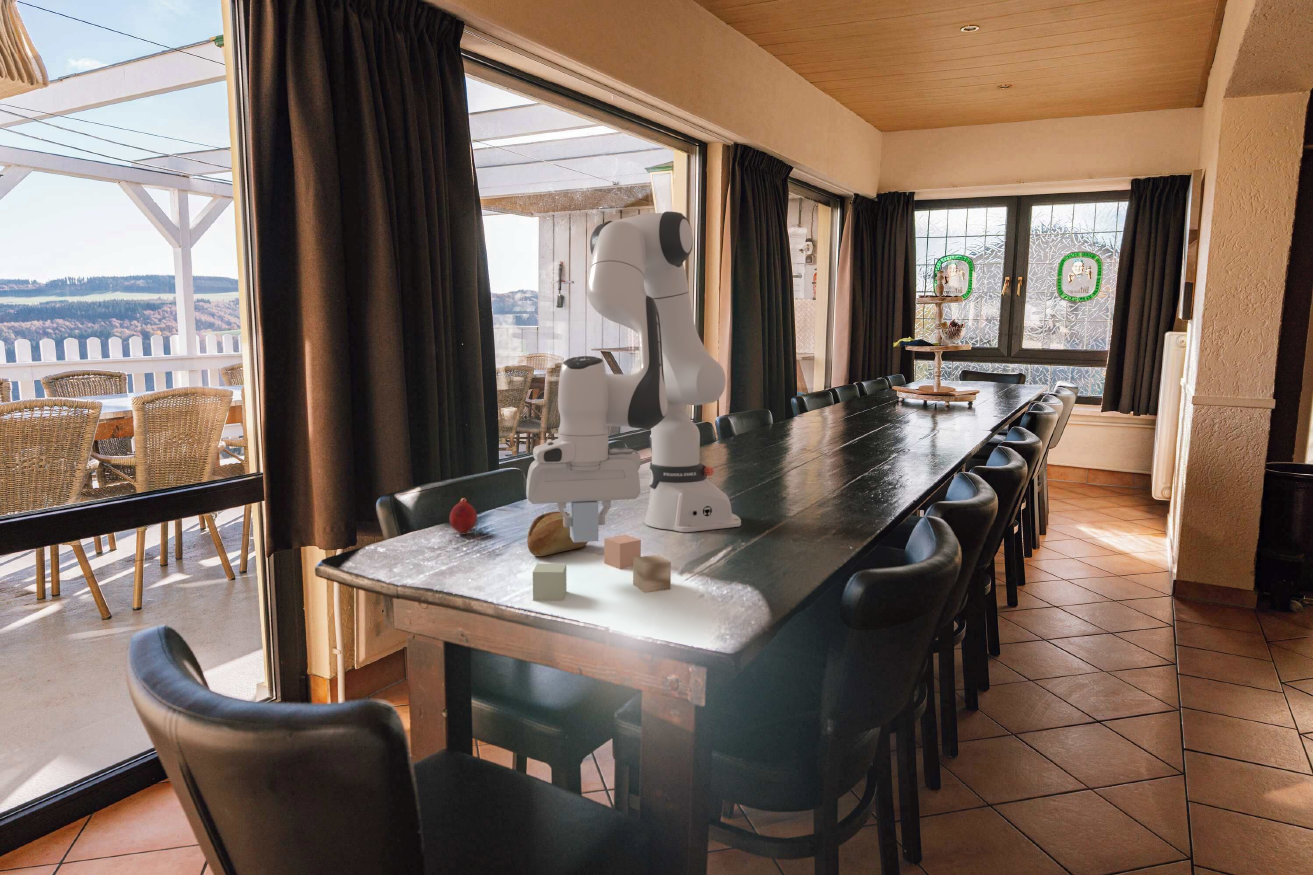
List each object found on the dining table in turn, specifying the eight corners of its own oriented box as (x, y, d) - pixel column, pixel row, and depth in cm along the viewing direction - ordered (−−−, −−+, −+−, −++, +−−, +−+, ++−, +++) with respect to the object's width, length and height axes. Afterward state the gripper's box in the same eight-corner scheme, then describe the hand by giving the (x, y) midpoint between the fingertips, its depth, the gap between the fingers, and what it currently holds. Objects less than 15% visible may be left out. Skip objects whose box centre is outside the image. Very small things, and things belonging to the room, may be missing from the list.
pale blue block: (593, 534, 151) (593, 497, 150) (598, 541, 147) (598, 502, 146) (570, 536, 150) (569, 498, 149) (573, 542, 146) (573, 503, 145)
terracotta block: (624, 559, 163) (625, 534, 162) (640, 565, 159) (640, 539, 159) (604, 563, 160) (604, 538, 159) (619, 569, 156) (619, 543, 155)
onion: (470, 538, 178) (469, 501, 177) (445, 536, 179) (444, 500, 178) (481, 531, 183) (480, 496, 182) (457, 530, 184) (456, 495, 183)
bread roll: (513, 555, 165) (513, 516, 164) (565, 540, 177) (565, 503, 176) (548, 563, 159) (548, 523, 158) (599, 547, 171) (599, 510, 170)
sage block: (566, 591, 143) (566, 563, 142) (563, 601, 138) (562, 572, 137) (537, 591, 143) (537, 563, 142) (533, 601, 138) (532, 571, 137)
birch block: (658, 581, 149) (659, 554, 148) (670, 589, 144) (670, 561, 144) (633, 584, 147) (633, 557, 146) (644, 593, 142) (644, 564, 142)
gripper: (636, 444, 152) (636, 518, 154) (524, 448, 147) (525, 524, 149) (644, 449, 146) (644, 526, 148) (528, 453, 141) (529, 532, 143)
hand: (583, 525), depth 148 cm, fingers closed on pale blue block, 4 cm apart
